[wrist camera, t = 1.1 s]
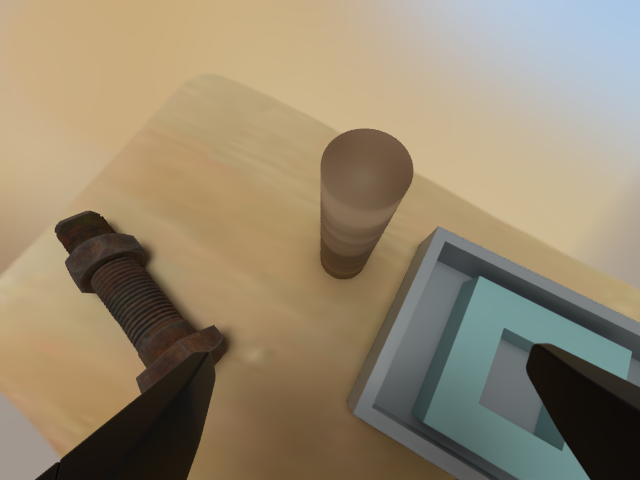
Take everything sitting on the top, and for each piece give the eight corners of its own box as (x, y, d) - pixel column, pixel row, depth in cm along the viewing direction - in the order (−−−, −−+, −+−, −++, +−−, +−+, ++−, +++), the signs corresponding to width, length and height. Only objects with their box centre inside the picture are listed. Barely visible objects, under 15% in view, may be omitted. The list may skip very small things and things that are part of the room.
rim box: (616, 566, 18) (697, 626, 14) (346, 400, 20) (352, 414, 17) (652, 359, 21) (724, 363, 17) (420, 244, 24) (438, 226, 20)
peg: (352, 287, 23) (389, 225, 11) (312, 265, 24) (303, 182, 11) (372, 248, 24) (427, 151, 12) (333, 228, 25) (347, 115, 12)
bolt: (119, 235, 27) (221, 364, 23) (50, 260, 23) (155, 417, 19) (108, 185, 23) (230, 332, 19) (22, 207, 19) (148, 393, 15)
